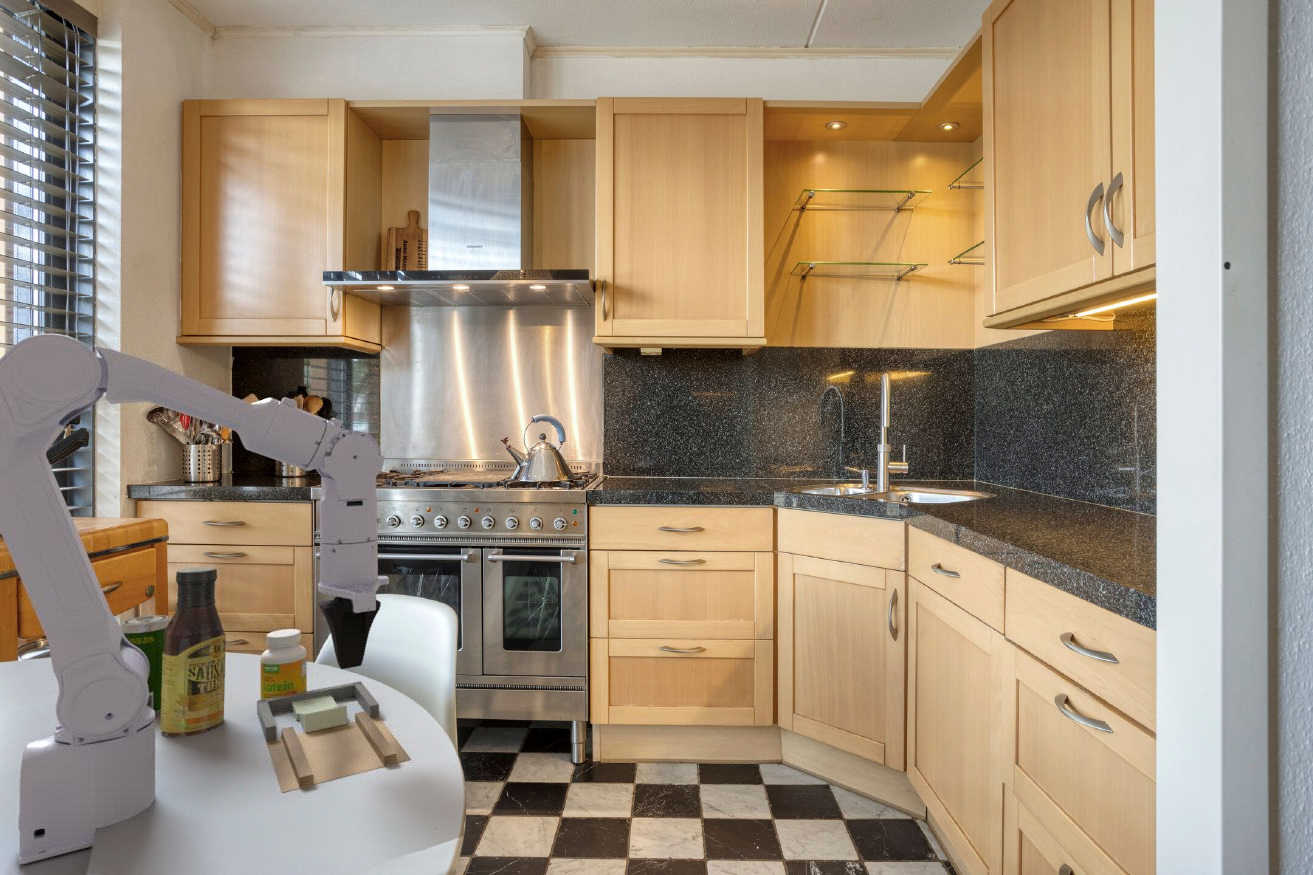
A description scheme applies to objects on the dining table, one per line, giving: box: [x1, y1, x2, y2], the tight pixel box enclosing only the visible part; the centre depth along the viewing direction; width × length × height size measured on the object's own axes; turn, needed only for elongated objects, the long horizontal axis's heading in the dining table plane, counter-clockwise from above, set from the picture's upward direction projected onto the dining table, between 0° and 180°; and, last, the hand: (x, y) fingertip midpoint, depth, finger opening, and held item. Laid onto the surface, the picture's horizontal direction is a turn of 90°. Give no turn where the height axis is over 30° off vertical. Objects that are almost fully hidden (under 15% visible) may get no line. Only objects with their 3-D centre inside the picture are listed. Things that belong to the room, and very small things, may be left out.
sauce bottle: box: [159, 566, 227, 738], centre depth 82 cm, size 7×6×20 cm
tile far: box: [291, 695, 338, 722], centre depth 87 cm, size 4×4×2 cm
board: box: [265, 710, 412, 794], centre depth 75 cm, size 12×14×2 cm
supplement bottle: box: [259, 628, 308, 700], centre depth 92 cm, size 5×5×10 cm
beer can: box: [121, 614, 170, 717], centre depth 90 cm, size 5×5×12 cm
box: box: [256, 680, 380, 742], centre depth 85 cm, size 12×10×3 cm
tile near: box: [298, 704, 349, 733], centre depth 83 cm, size 4×4×2 cm
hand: (350, 665), depth 76 cm, fingers closed
